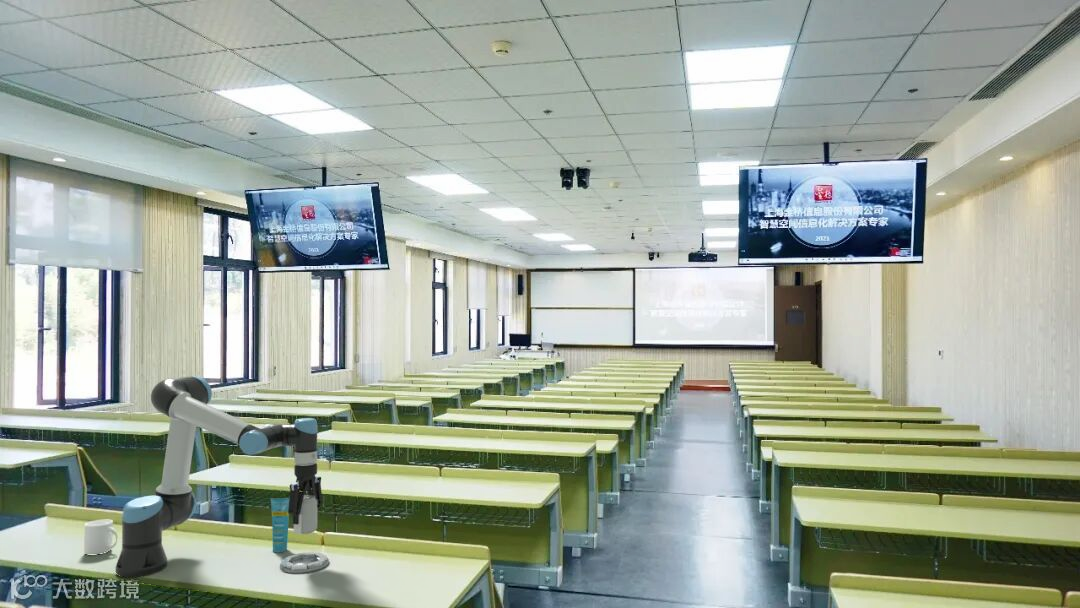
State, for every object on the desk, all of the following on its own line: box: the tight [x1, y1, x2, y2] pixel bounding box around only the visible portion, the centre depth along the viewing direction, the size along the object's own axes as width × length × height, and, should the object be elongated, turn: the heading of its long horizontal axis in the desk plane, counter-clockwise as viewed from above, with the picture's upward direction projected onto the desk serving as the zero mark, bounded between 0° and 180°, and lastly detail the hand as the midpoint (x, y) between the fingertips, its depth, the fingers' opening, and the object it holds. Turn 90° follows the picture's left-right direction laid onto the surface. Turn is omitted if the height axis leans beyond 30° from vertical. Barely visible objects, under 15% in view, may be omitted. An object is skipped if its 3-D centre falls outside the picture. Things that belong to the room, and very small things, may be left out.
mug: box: [83, 518, 118, 554], centre depth 245 cm, size 9×12×11 cm
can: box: [296, 494, 318, 535], centre depth 233 cm, size 8×8×12 cm
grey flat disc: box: [279, 551, 330, 575], centre depth 232 cm, size 16×16×2 cm
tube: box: [270, 497, 290, 553], centre depth 248 cm, size 7×5×19 cm, turn 98°
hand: (305, 529), depth 233 cm, fingers closed on can, 7 cm apart
